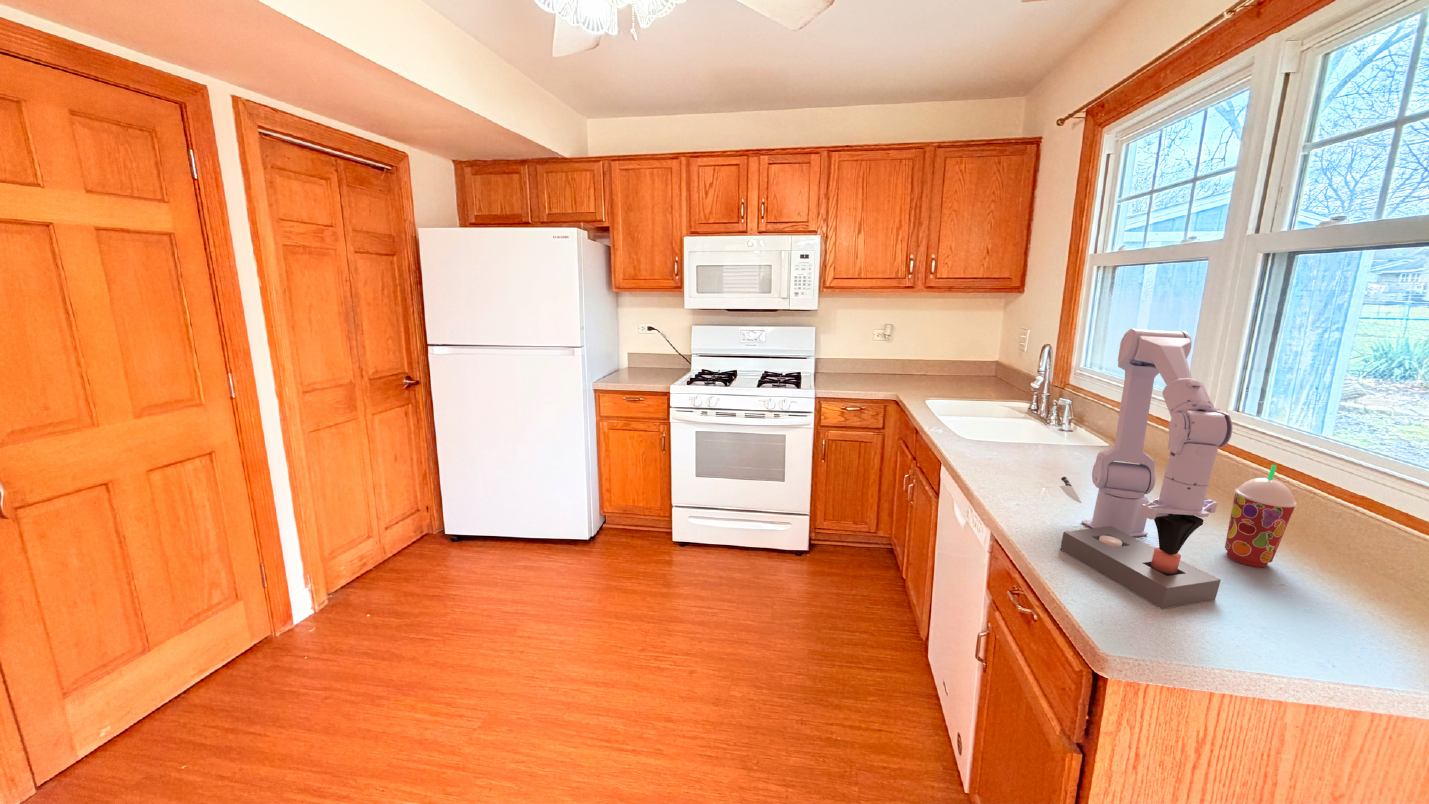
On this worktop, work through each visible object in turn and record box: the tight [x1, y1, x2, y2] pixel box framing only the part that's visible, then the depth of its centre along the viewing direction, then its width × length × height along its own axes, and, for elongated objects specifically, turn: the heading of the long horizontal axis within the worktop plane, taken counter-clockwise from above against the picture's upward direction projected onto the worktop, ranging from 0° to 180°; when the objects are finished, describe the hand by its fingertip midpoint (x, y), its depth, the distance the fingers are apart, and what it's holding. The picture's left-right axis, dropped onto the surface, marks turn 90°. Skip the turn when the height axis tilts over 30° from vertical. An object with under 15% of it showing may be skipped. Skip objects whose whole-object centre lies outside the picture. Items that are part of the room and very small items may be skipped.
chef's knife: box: [1059, 476, 1083, 504], centre depth 138 cm, size 19×1×3 cm
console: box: [1060, 526, 1222, 610], centre depth 99 cm, size 12×20×4 cm, turn 14°
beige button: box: [1099, 535, 1122, 547], centre depth 104 cm, size 4×4×3 cm
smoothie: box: [1224, 464, 1298, 568], centre depth 103 cm, size 8×8×20 cm
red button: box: [1151, 547, 1182, 574], centre depth 94 cm, size 4×4×3 cm
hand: (1167, 551), depth 93 cm, fingers closed
